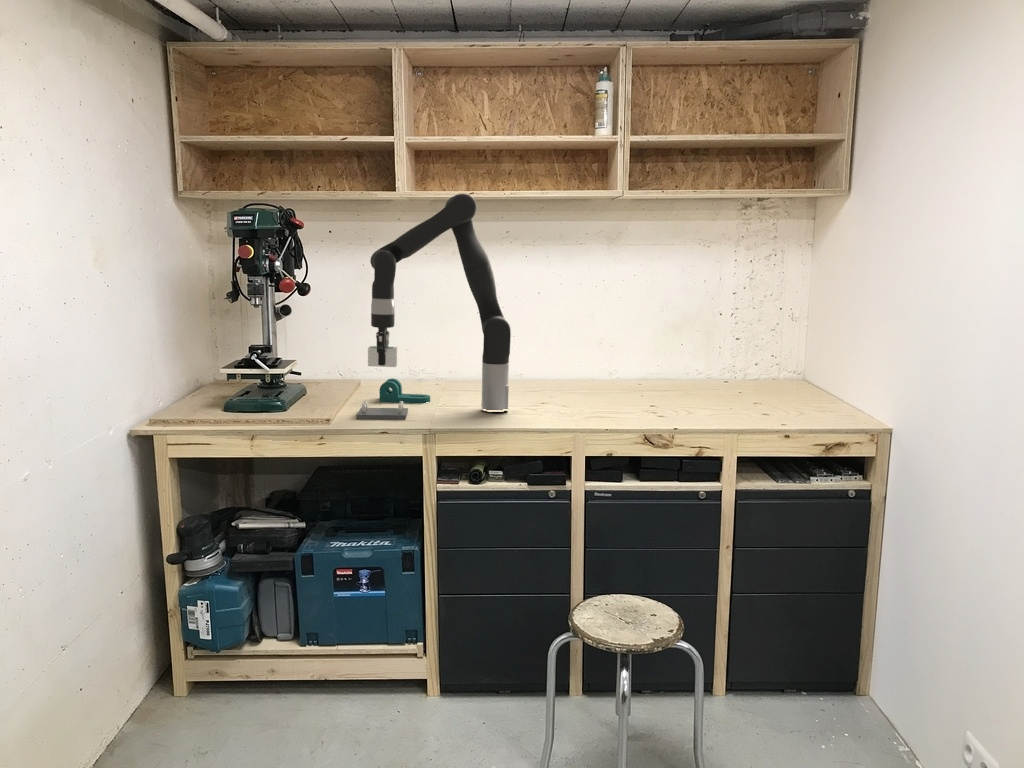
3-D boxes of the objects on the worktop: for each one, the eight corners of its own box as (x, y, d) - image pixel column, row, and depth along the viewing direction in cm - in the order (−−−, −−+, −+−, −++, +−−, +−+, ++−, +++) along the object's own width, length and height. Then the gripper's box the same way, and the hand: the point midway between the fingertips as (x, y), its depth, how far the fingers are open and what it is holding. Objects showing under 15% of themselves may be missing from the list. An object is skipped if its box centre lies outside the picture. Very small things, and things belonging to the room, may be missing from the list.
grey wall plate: (408, 412, 236) (407, 399, 235) (405, 419, 226) (405, 406, 225) (360, 411, 234) (360, 399, 234) (356, 419, 225) (356, 405, 224)
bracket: (379, 402, 250) (379, 381, 248) (384, 398, 256) (383, 378, 255) (428, 404, 249) (428, 383, 247) (431, 400, 255) (431, 379, 254)
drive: (397, 364, 229) (397, 346, 228) (395, 367, 225) (395, 348, 224) (369, 363, 229) (369, 345, 227) (367, 366, 224) (367, 347, 223)
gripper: (392, 314, 217) (391, 368, 220) (396, 310, 231) (396, 360, 234) (368, 314, 216) (368, 367, 219) (374, 309, 230) (373, 360, 233)
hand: (382, 363), depth 227 cm, fingers closed on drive, 4 cm apart
